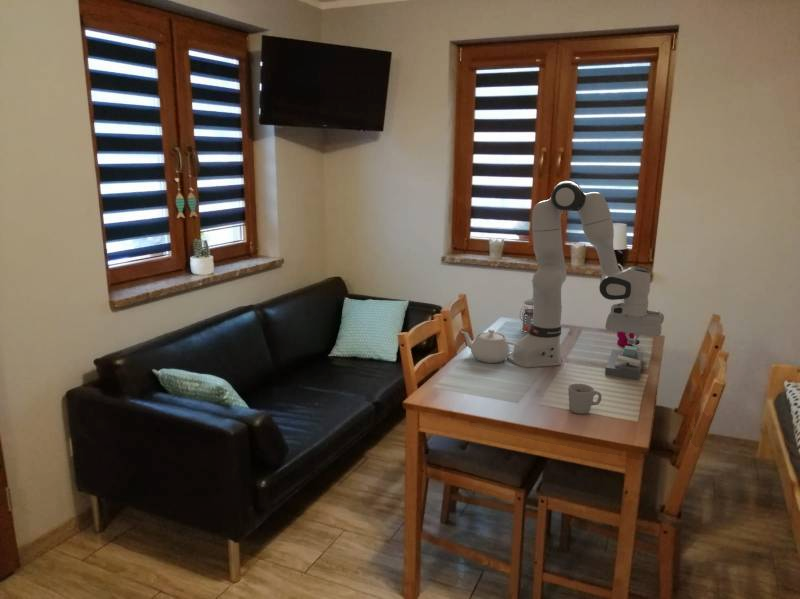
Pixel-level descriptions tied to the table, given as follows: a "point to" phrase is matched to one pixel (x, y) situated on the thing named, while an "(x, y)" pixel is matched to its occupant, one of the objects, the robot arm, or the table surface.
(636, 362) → the rocker switch
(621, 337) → the pepper mill
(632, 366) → the control panel
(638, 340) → the toggle lever
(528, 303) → the french press
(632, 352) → the push button
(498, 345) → the teapot
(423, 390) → the table surface
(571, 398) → the cup
